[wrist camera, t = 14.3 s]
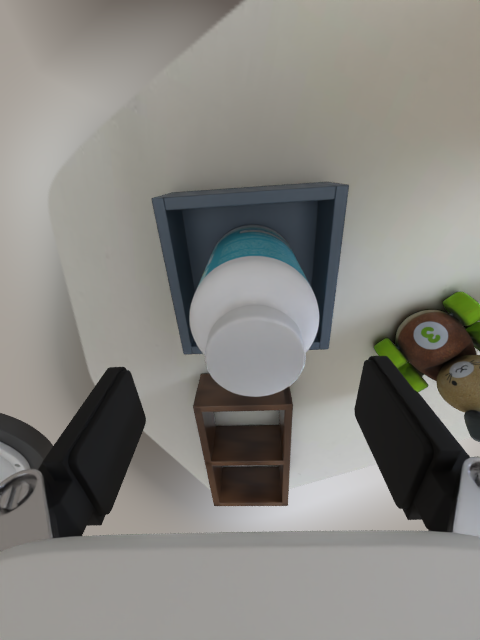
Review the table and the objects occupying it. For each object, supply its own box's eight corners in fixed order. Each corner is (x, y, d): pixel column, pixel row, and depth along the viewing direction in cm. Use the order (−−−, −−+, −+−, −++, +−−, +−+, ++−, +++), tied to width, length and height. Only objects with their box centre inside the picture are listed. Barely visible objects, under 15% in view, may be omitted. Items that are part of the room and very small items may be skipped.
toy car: (451, 280, 25) (583, 353, 15) (489, 337, 27) (620, 428, 18) (365, 338, 28) (427, 427, 18) (406, 383, 31) (479, 481, 21)
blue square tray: (194, 325, 28) (183, 354, 23) (171, 192, 22) (151, 198, 17) (315, 320, 27) (328, 349, 23) (327, 181, 21) (349, 184, 16)
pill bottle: (200, 233, 22) (148, 302, 11) (287, 214, 22) (334, 267, 10) (222, 309, 26) (200, 424, 14) (297, 296, 25) (340, 407, 13)
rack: (217, 470, 40) (214, 506, 36) (200, 373, 31) (192, 406, 27) (283, 469, 40) (287, 506, 36) (286, 371, 30) (292, 404, 26)
